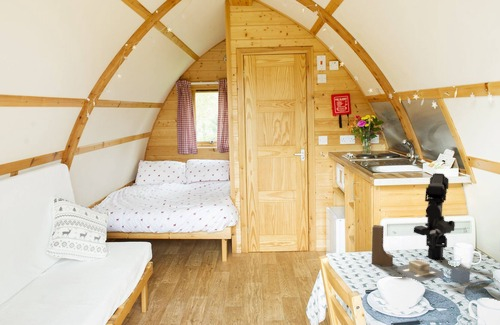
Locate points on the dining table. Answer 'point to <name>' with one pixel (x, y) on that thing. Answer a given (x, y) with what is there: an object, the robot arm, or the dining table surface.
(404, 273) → the letter board
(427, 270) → the birch block
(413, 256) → the dining table surface
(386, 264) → the wooden block
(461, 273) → the blue cube
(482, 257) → the dining table surface
